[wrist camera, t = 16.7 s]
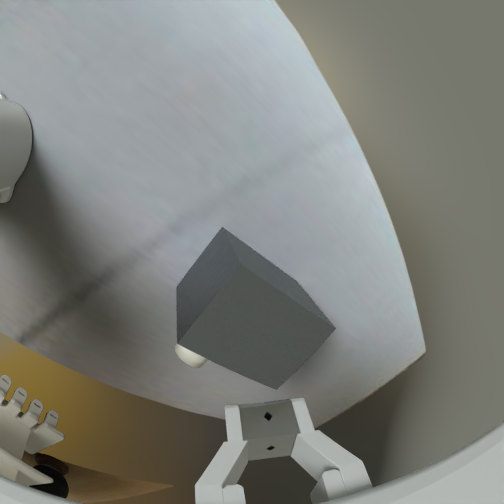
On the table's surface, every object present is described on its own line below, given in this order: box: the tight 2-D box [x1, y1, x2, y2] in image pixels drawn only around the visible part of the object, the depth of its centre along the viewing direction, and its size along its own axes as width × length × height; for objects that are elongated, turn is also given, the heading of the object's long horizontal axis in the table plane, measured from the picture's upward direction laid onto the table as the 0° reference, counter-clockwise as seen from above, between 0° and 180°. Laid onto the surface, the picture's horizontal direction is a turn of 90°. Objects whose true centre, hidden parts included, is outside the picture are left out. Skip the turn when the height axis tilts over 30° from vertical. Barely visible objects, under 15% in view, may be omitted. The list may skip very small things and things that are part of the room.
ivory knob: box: [175, 343, 208, 368], centre depth 38 cm, size 10×5×5 cm, turn 141°
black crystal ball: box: [29, 454, 69, 499], centre depth 49 cm, size 13×13×15 cm
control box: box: [177, 227, 336, 390], centre depth 42 cm, size 12×16×15 cm
